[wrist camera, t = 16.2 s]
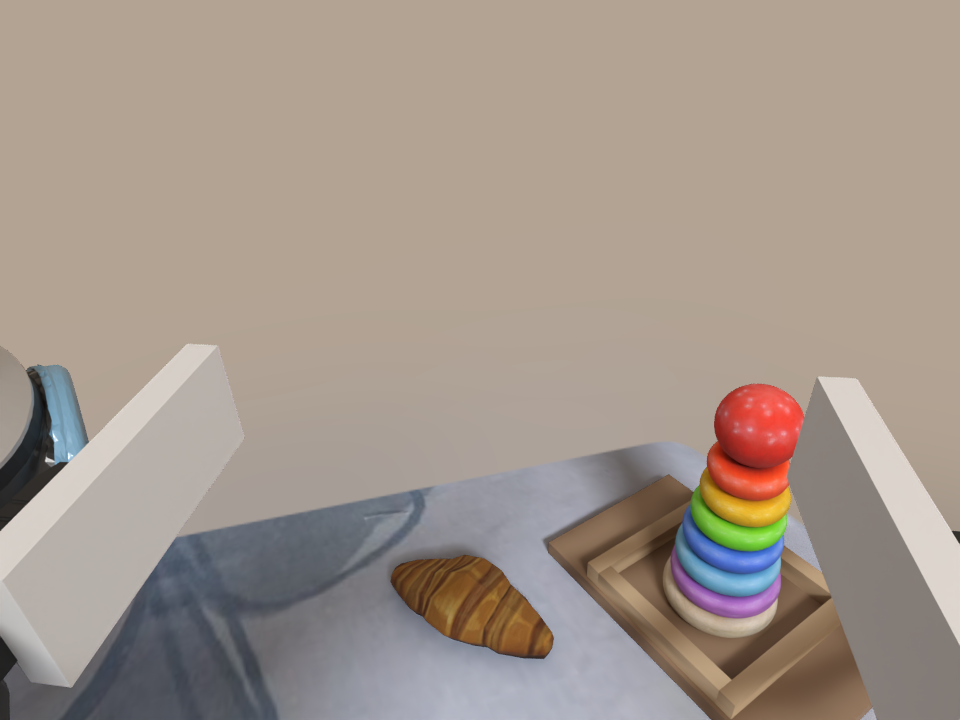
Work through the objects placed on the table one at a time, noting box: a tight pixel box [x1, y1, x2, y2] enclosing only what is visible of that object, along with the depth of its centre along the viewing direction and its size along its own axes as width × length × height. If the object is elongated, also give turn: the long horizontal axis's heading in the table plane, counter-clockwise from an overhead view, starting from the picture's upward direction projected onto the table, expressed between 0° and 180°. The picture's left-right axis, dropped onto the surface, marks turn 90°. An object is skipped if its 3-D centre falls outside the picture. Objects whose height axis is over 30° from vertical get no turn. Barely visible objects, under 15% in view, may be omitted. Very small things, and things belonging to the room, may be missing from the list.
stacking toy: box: [663, 384, 804, 638], centre depth 43 cm, size 8×8×19 cm
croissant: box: [391, 555, 554, 659], centre depth 47 cm, size 14×7×5 cm, turn 61°
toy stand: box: [548, 475, 872, 720], centre depth 48 cm, size 22×14×3 cm, turn 34°
